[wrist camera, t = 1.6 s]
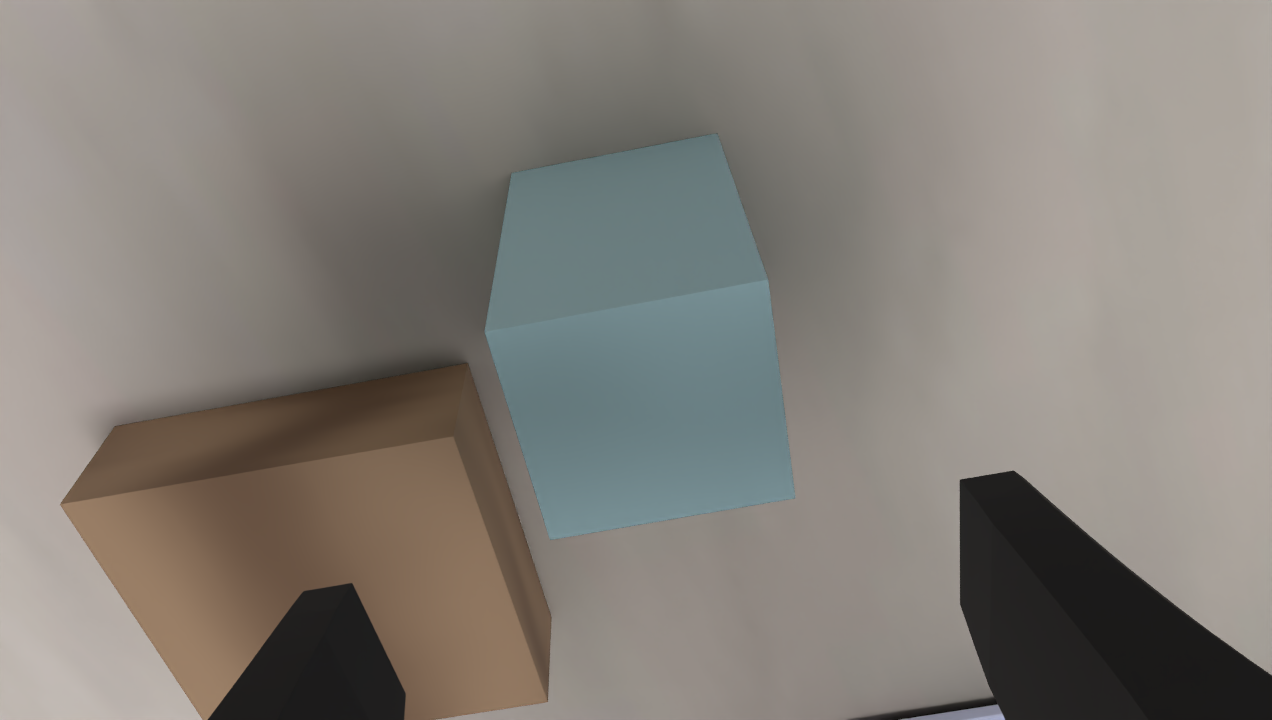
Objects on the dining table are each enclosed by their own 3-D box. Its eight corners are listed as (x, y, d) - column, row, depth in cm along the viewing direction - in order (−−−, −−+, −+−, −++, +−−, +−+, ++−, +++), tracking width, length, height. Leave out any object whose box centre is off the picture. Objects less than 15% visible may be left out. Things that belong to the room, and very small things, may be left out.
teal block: (717, 132, 18) (767, 279, 13) (743, 312, 20) (795, 498, 15) (511, 172, 18) (484, 332, 13) (558, 346, 21) (550, 539, 16)
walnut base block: (469, 354, 21) (453, 436, 19) (551, 606, 25) (547, 702, 23) (121, 416, 22) (60, 504, 19) (260, 653, 26) (224, 752, 23)
